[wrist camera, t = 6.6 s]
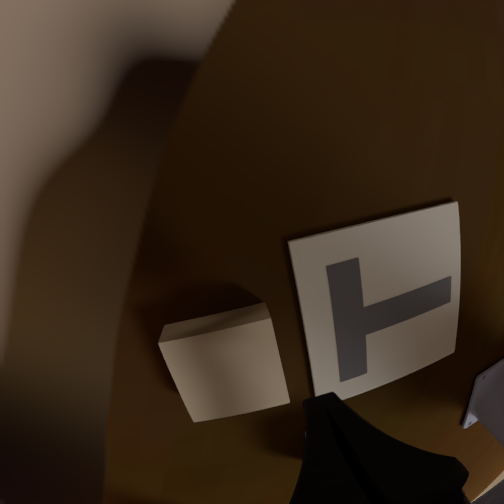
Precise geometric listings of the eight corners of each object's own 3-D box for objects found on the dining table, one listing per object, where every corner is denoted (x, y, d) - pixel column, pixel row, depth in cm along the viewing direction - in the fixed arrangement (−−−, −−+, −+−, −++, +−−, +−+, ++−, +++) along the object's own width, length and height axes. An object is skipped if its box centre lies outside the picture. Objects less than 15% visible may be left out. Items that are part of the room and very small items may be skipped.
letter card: (453, 201, 17) (458, 201, 17) (451, 349, 20) (454, 352, 19) (287, 241, 16) (289, 242, 16) (316, 404, 19) (317, 408, 19)
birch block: (264, 299, 18) (270, 318, 15) (282, 379, 19) (290, 402, 17) (165, 322, 17) (158, 343, 15) (195, 397, 19) (193, 422, 16)
